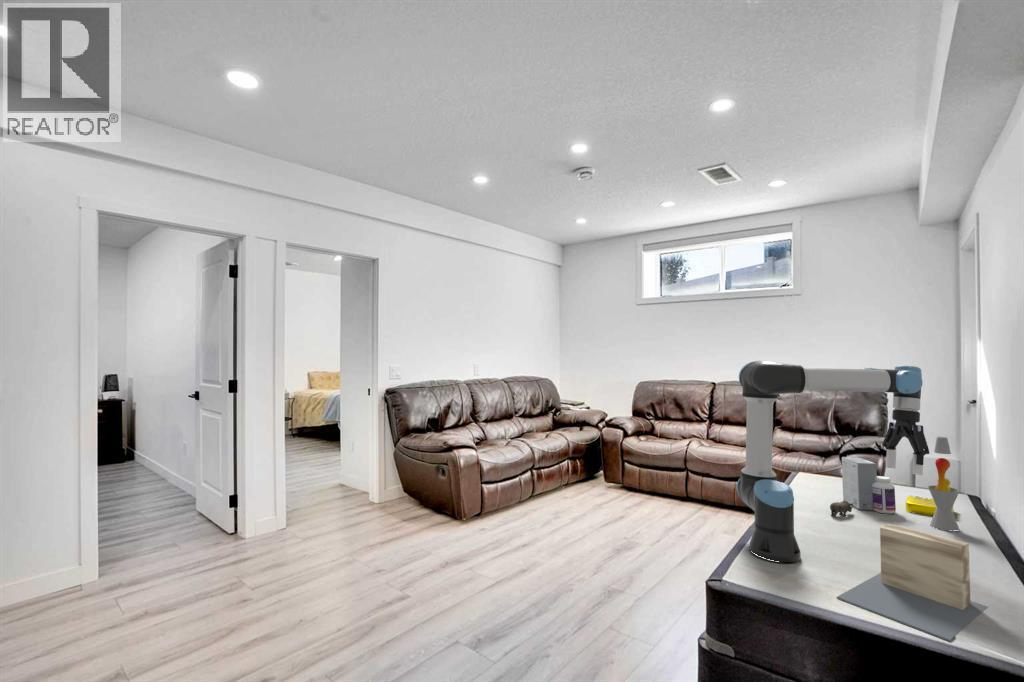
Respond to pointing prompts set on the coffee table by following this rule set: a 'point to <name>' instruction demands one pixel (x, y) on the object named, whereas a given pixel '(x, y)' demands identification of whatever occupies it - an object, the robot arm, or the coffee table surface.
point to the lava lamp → (943, 491)
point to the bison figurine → (840, 508)
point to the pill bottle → (883, 495)
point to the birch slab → (926, 565)
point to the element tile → (921, 505)
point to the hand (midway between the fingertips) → (903, 471)
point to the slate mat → (912, 608)
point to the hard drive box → (858, 482)
